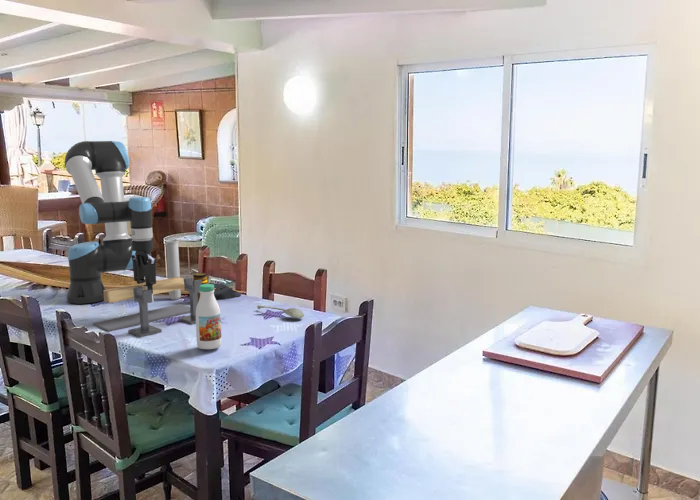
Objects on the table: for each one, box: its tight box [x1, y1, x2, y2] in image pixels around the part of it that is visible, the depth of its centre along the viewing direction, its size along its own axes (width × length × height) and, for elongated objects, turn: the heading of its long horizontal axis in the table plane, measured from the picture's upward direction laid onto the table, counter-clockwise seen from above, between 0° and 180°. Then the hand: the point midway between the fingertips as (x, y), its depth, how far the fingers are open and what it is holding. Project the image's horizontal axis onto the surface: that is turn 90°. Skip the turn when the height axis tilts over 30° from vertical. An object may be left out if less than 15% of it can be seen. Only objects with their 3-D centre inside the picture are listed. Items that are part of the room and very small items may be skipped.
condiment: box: [186, 272, 209, 306], centre depth 247 cm, size 7×8×12 cm
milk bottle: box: [195, 284, 222, 350], centre depth 192 cm, size 8×8×20 cm
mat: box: [92, 303, 190, 333], centre depth 226 cm, size 12×36×1 cm, turn 138°
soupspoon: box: [256, 304, 305, 319], centre depth 232 cm, size 22×3×7 cm
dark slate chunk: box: [208, 282, 242, 301], centre depth 262 cm, size 15×22×5 cm
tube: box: [165, 239, 182, 301], centre depth 251 cm, size 5×5×25 cm
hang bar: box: [103, 276, 184, 304], centre depth 224 cm, size 4×30×4 cm, turn 138°
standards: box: [127, 277, 202, 338], centre depth 214 cm, size 8×28×15 cm, turn 138°
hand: (146, 301), depth 225 cm, fingers closed on hang bar, 4 cm apart
